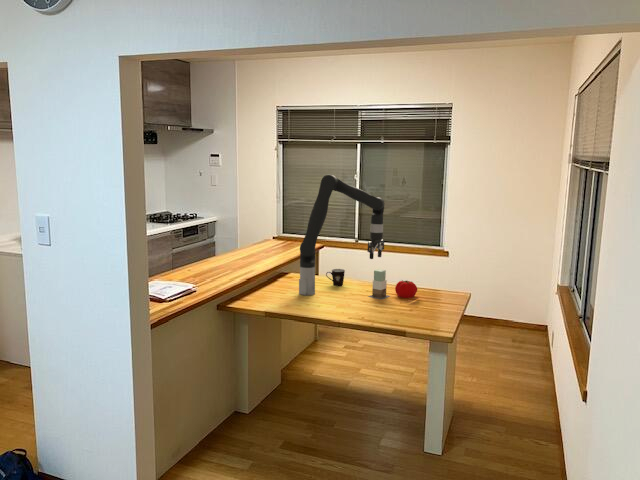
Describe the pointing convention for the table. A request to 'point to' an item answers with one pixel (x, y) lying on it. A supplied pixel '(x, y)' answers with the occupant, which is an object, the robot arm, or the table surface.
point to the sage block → (379, 275)
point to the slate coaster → (379, 298)
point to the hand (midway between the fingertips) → (375, 258)
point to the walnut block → (378, 293)
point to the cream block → (379, 285)
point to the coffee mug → (337, 276)
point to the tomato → (405, 289)
